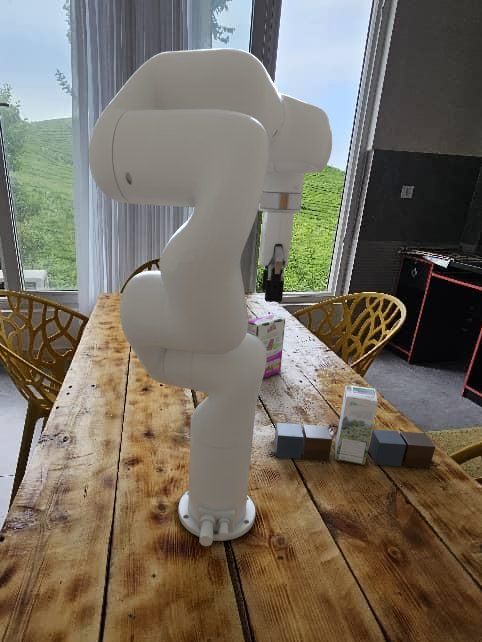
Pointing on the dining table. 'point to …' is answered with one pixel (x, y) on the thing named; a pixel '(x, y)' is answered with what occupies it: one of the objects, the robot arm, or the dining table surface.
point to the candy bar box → (269, 340)
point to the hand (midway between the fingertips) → (271, 295)
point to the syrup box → (355, 424)
